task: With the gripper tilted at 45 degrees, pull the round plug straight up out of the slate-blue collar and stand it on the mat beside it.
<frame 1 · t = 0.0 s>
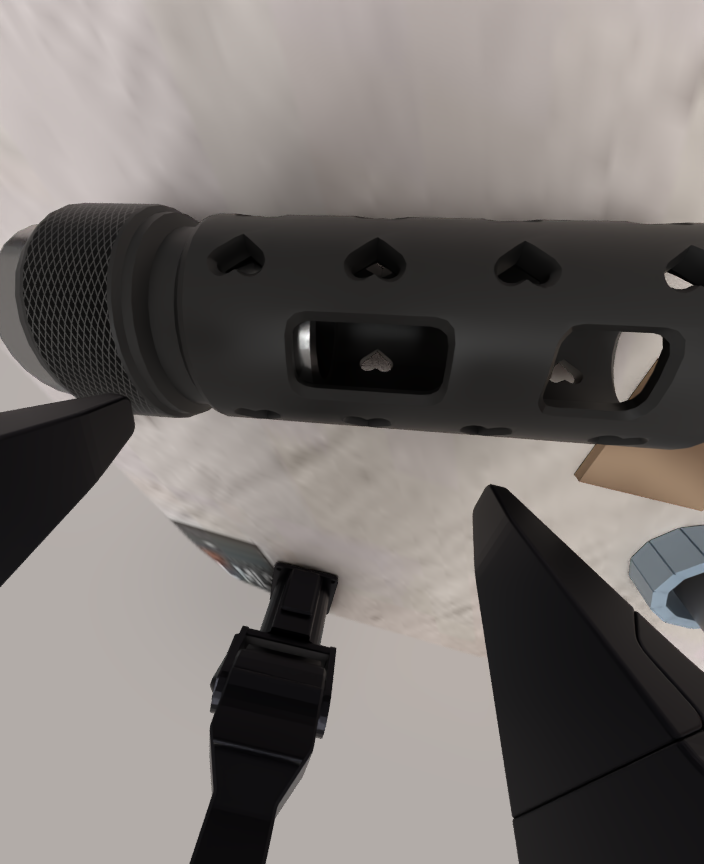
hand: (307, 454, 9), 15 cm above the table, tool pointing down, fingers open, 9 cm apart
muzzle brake: (365, 304, 21), on the table
mat: (677, 438, 23), on the table
collar: (689, 562, 28), on the table
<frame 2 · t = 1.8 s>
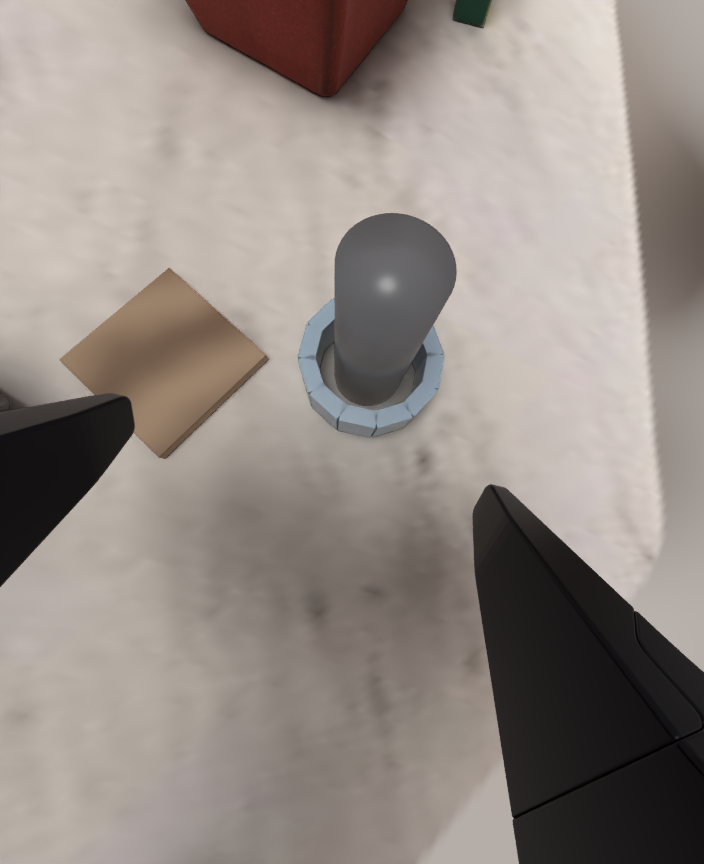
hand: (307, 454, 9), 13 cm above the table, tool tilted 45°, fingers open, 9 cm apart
mat: (170, 362, 23), on the table
plug: (377, 336, 18), in the collar
plant pot: (305, 23, 29), on the table
collar: (367, 374, 23), on the table
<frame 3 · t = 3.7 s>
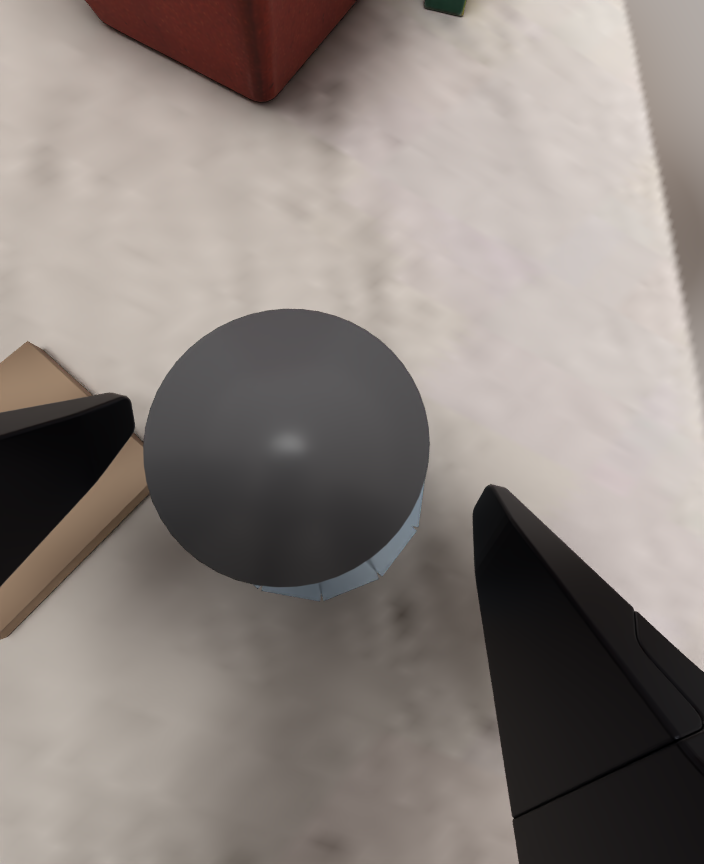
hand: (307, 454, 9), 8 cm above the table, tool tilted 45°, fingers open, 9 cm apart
mat: (25, 480, 15), on the table
plug: (310, 472, 11), in the collar
plant pot: (237, 14, 23), on the table
collar: (317, 484, 16), on the table
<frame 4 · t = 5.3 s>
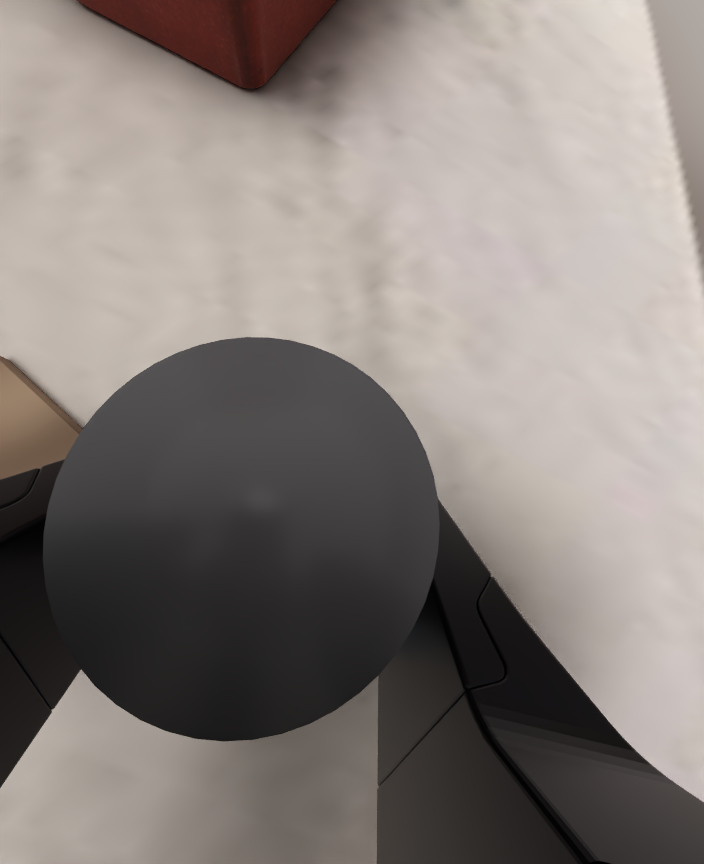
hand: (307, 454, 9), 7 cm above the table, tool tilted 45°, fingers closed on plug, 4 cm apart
plug: (297, 510, 9), in the collar, touching gripper
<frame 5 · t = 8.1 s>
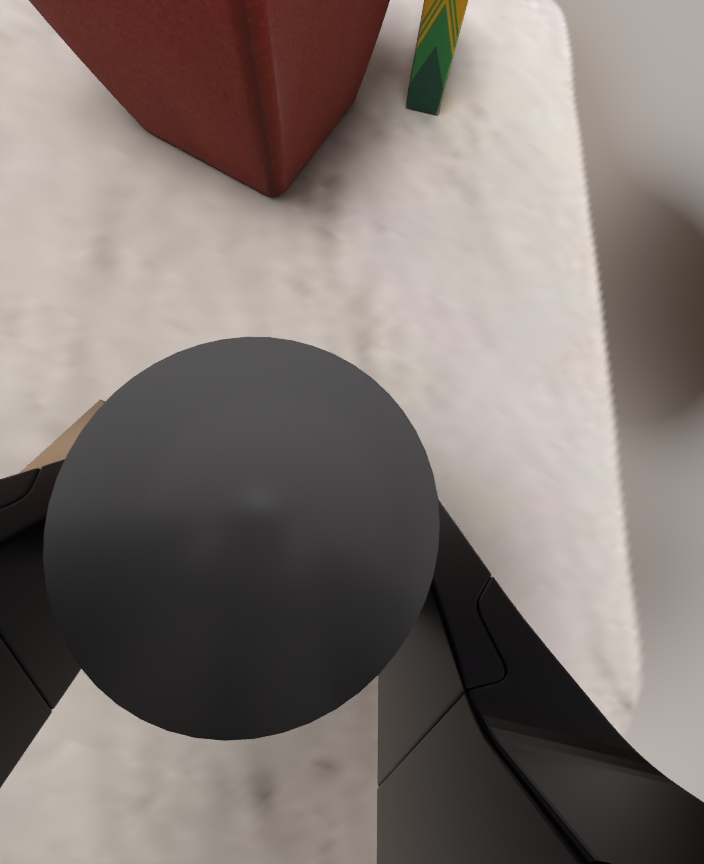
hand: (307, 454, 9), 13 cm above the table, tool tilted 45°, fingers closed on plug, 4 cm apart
mat: (101, 504, 21), on the table
crayon box: (427, 83, 30), on the table
plug: (297, 509, 9), point 12 cm above the table, touching gripper
plant pot: (253, 116, 28), on the table
when the fingers open (9 cm above the table, at t = 11.2 s): plug drops 1 cm, resting on mat.
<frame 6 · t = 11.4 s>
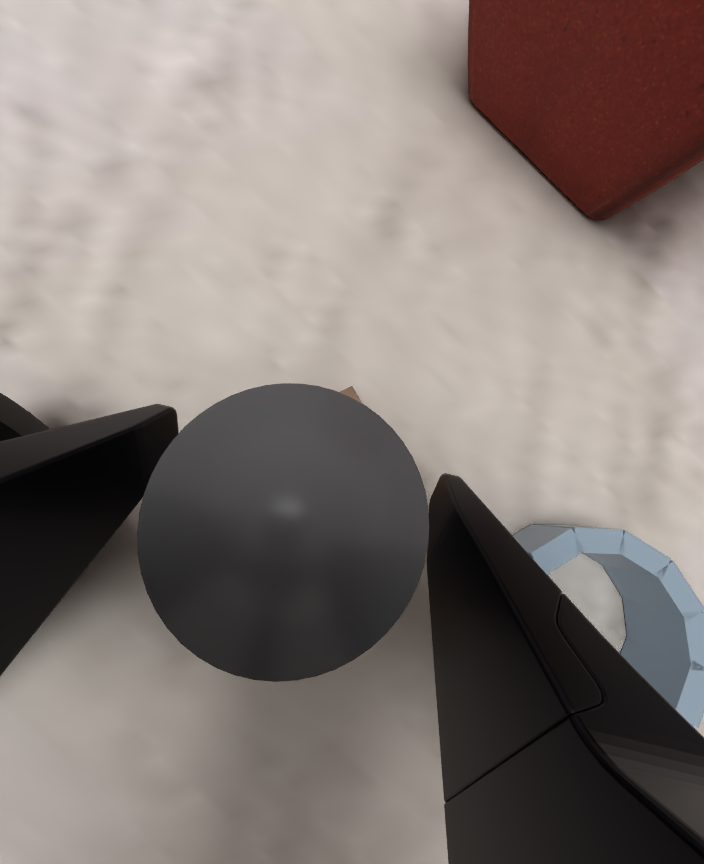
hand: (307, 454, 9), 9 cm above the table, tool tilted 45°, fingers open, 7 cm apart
plug: (305, 511, 11), on the mat, point 6 cm above the table
plant pot: (586, 123, 24), on the table
collar: (560, 615, 16), on the table
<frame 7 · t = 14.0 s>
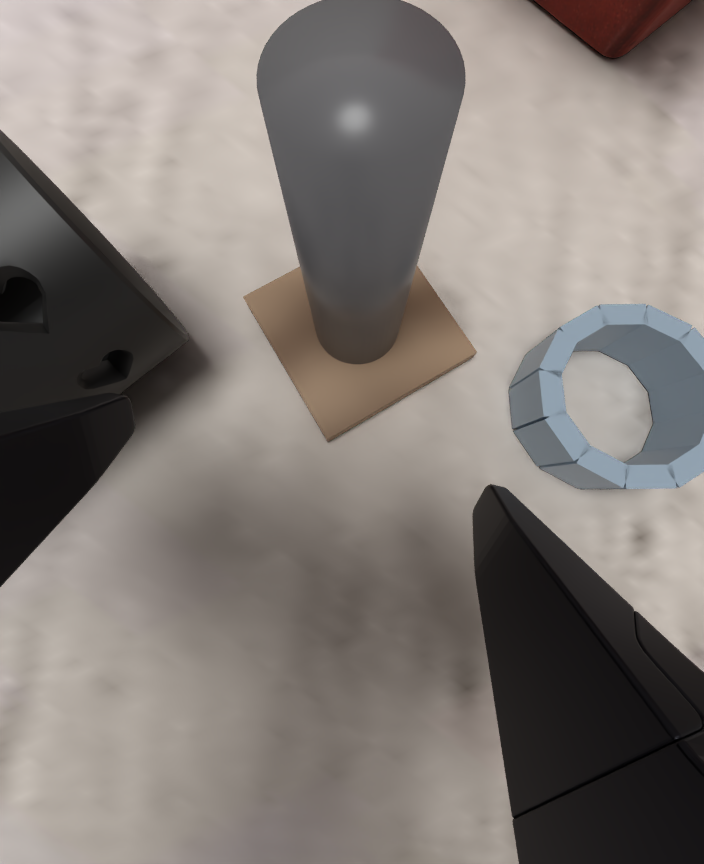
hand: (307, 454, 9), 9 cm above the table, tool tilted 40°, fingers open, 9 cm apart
mat: (357, 331, 19), on the table
plug: (358, 253, 13), on the mat, point 6 cm above the table
collar: (590, 408, 18), on the table
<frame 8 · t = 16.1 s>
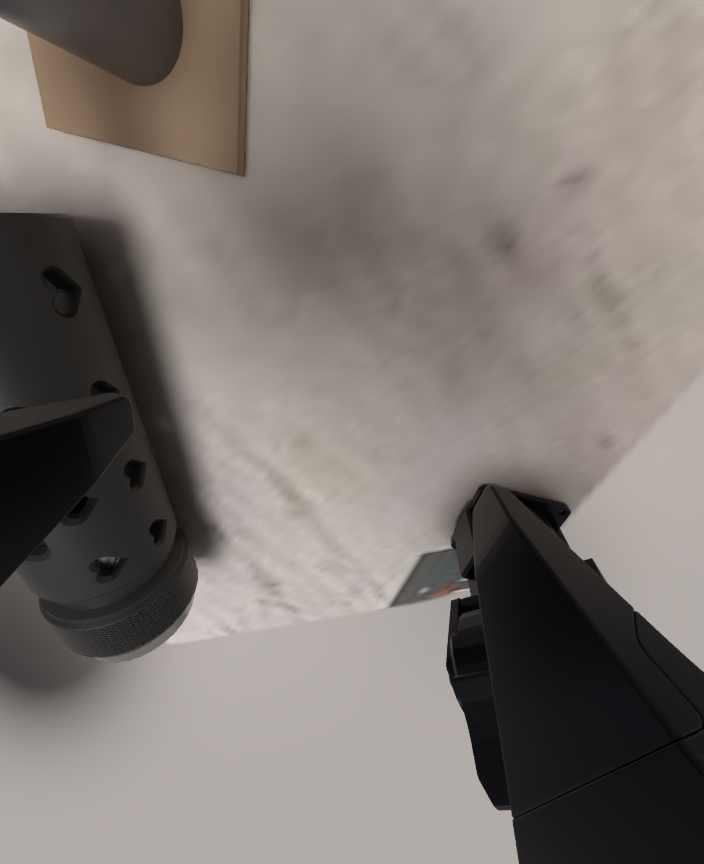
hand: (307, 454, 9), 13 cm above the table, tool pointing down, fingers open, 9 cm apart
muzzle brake: (135, 431, 26), on the table
mat: (141, 16, 14), on the table
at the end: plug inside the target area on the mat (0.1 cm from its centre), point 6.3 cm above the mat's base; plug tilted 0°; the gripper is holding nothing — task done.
